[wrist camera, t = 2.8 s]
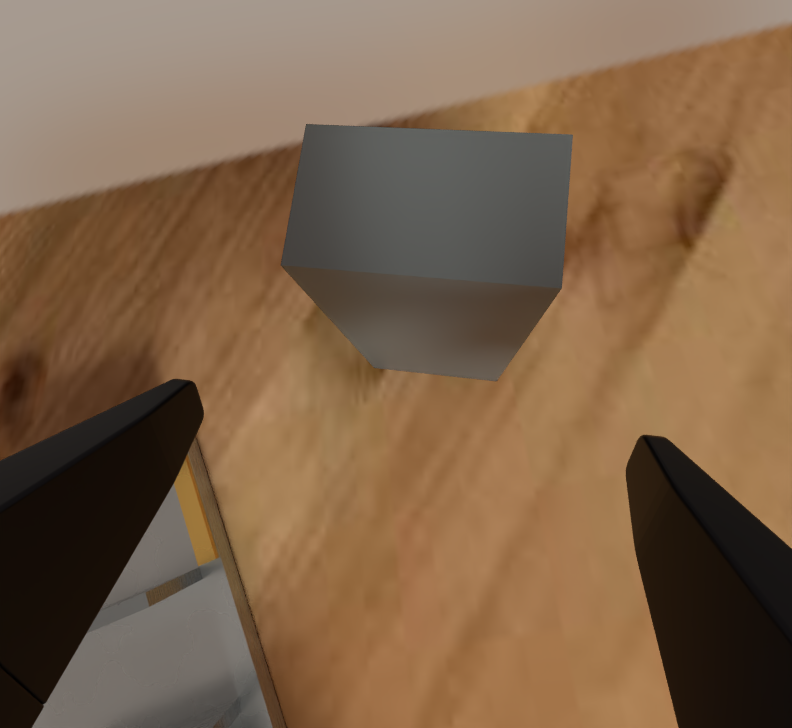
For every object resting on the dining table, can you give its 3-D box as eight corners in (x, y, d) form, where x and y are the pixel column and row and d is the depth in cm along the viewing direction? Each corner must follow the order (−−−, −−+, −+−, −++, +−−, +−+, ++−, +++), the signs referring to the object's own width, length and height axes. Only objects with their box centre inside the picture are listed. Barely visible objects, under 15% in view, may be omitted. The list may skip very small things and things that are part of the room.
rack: (319, 833, 18) (270, 977, 13) (88, 925, 18) (-44, 1099, 13) (196, 438, 21) (121, 435, 16) (3, 522, 22) (-126, 542, 17)
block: (496, 381, 20) (561, 288, 9) (374, 367, 21) (280, 265, 9) (503, 311, 21) (572, 134, 9) (383, 300, 22) (306, 123, 10)
